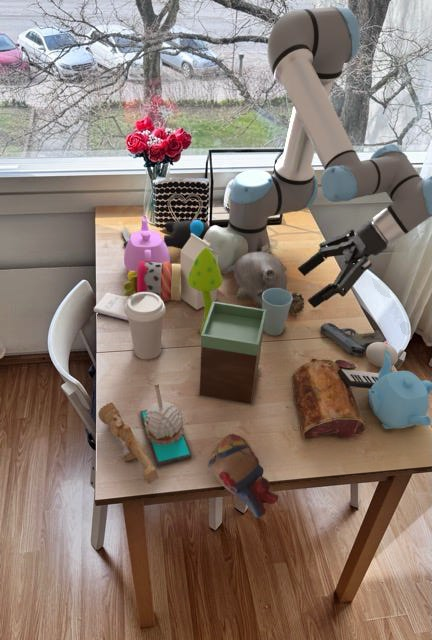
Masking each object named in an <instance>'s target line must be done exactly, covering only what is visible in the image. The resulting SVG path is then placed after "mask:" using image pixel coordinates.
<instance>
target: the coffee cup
mask: <svg viewBox="0 0 432 640" xmlns="http://www.w3.org/2000/svg"><path fill="white" fill-rule="evenodd" d="M128 298H129V299H128V301H127V303H126V305H125V308H124V312H125V314H126V315H127V317H128V321H127V322H128V326H129V331H130V335H131V336H130V337H131V341H132V346H133V351H134V355H135V356H136V357H138V358H139V359H142V360H153V359H155V358H157V357H158V356H159V355H161V351H162V338H163V337H162V336H163V325H164V324H163V323H164V315H165V313H166V310H167V309H166V308H167V307H166V304H165V303H164V301H162V300H161V298H160V297H159V296H158V295H156V294H154V293H151V292H139V293H136V294H134V295H133V294H131V295H130V296H129V297H128Z"/></svg>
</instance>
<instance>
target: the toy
mask: <svg viewBox="0 0 432 640" xmlns="http://www.w3.org/2000/svg"><path fill="white" fill-rule="evenodd" d="M211 227H212V226H210V225H209V223H206V222H203V221H201V220H200V219H194V220H182V221H166V223H165V232H166V233H168V234H165V235H164V236H163V240H164V242H165V244H166V246H167V248H175V249H179V250H182V248H183V247H184V245H185V244H186V243H187V241H188V240H189V239H190V237H191V233H192V234H194V235H195V236H197V237H198V238H200V239H202V240H203V238H204V236H205V234H206V232H207V231H208V230H209V229H210V228H211Z"/></svg>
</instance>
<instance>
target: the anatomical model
mask: <svg viewBox="0 0 432 640" xmlns="http://www.w3.org/2000/svg"><path fill="white" fill-rule="evenodd" d="M207 463H208V464H207V467H208V468H209V471H210V473H211V475H212V476H213V477H214V478H215V479H216V481H217V482H218V483H219V484H221V485H222V486H223V487H224V489H225V490H227V491H228V492H229V493H231V494H232V495H234V496H235V497H237V498H238V499H239V500H240V501H241V502H243V503H244V504H245V505H246V506H247V507H248V508H249V509H250V512H251V513H252V515H253V517H254V518H256V519H259V518H262V517H263V516H265V515H266V512H267V510H266V508H265V505H264V504H269V505H271V506H272V505H274V504H276V502H277V501H278V500H279V495H278V494H275V493H274V492H271V491H270V487H271V482H270V481H269V480H268V479H267V478H266V477H264V476H263V475H264V471H265V470H264V467H262V466H261V464H260V461H259V458H258V457H257V455H256V454H255V452H254V451H253V449H252V447H251V446H250V444H249V443H248V441H247V440H246V439H245V438H244V437H243V436H240V435H238V434H235V433H230V434H227V435H226V436H225V437H223V439H222V440H221V441H220V442H218V444H217V446H216V447H215V448H214V449H213V451H212V452H211V454H210V456H209V458H208V462H207Z"/></svg>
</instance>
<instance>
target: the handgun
mask: <svg viewBox="0 0 432 640" xmlns="http://www.w3.org/2000/svg"><path fill="white" fill-rule="evenodd" d="M320 332H322V333H323V334H324V335H325V336H326V337H327V338H329V339H331V340H332V341H333V342H334V343H335V344H337V345H338V346H339V347H341V348H342V349H343V350H345V351H346V352H347V353H348V354H349V355H351V356H353V355H354V356H364V354H365V352H366V349H367V347H368V346H369V345H370V344H372V343H375V342H384V341H388V340H387V338H386V336H385V335H384V333H383V332H382V331H381V330H380V329H376V330H374V332H365V333H359V332H357V331H356V330H355V329H354V328H352V327H345V328H339V327H338V326H337V325H336V324H334V323H331V322H324V323H323V324H322V325H321V326H320ZM347 332H349V333H350V334H348V333H347Z"/></svg>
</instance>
